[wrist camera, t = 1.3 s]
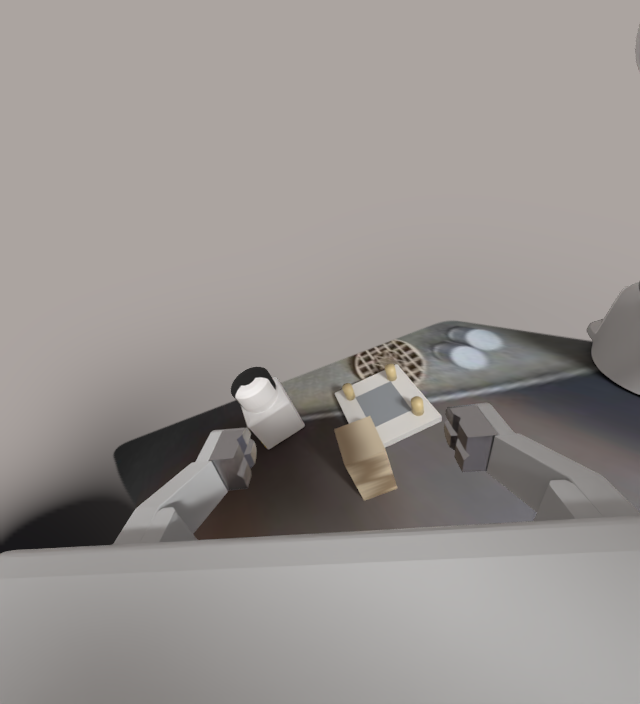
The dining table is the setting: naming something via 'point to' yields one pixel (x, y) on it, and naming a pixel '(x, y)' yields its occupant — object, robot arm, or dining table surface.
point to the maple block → (365, 458)
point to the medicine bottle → (266, 406)
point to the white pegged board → (388, 404)
